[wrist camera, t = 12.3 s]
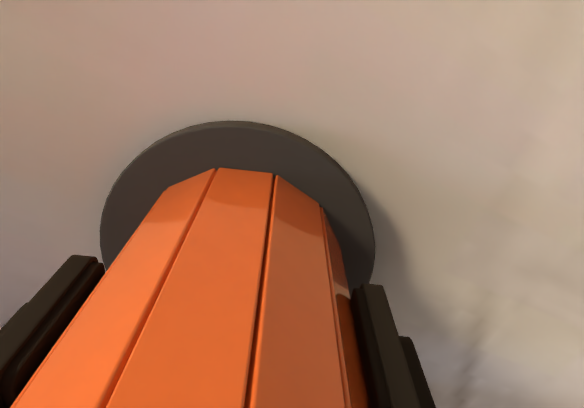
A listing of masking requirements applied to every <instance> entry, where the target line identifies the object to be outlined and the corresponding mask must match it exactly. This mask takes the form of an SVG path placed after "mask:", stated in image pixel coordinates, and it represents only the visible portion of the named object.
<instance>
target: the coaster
mask: <svg viewBox="0 0 584 408" xmlns="http://www.w3.org/2000/svg"><path fill="white" fill-rule="evenodd" d="M213 168H215V169H216V171H217V170H218V168H229V169H239V170H248V171H257V172H266V173H273V179H274V177H275V176H276V175H278V176H280V177H281V178H283V179H284V180H286V181H287V182H289V183H290V184H291V185H293V186H294V187H296V188H297V189H299V190H300V191H302V192H303V193H305V194H306V195H308V196H309V197H310V198H312V199H313V200H315V201H316V202H318V203H319V204H320V207H322V208H323V209H324V211H325V214H326V216H327V218H328V220H329V223H330V225H331V227H332V229H333V232H334V234H335V236H336V238H337V240H338V243H339V245H340V247H341V253H342V258H343V263H344V268H345V274H346V279H347V284H348V289H349V295H350V299H351V295H352V291H353V288H360V285H361V284H362V283H364V284H369V281H370V278H371V275H372V271H373V265H374V259H375V240H374V233H373V227H372V223H371V220H370V217H369V214H368V211H367V208H366V205H365V203H364V201H363V199H362V196H361V194H360V192H359V190H358V189H357V187H356V186H355V184H354V183H353V181H352V180H351V178H350V177H349V175H348V174H347V173H346V172H345V171H344V170H343V169H342V168H341V166H340V165H339V164H338V163H337V162H336V161H335V160H334V159H332V158H331V157H330V156H329V155H328V154H326V153H325V152H324V151H323V150H321V149H320V148H318V147H317V146H315V145H314V144H312V143H310V142H309V141H307V140H306V139H303V138H301V137H299V136H297V135H295V134H293V133H290V132H288V131H285V130H282V129H279V128H276V127H273V126H269V125H264V124H258V123H253V122H243V121H221V122H209V123H204V124H200V125H195V126H190V127H187V128H185V129H182V130H179V131H177V132H174V133H171V134H170V135H168V136H166V137H164V138H162V139H160V140H158V141H157V142H155V143H154V144H152V145H151V146H150V147H148V148H147V149H146V150H144V151H143V152H142V153H141V154H139V155H138V156H137V157H136V158H135V159H134V160H133V161H132V162H131V163H130V164H129V165H128V166H127V167H126V169H125V170H124V171H123V172H122V173H121V175H120V176H119V178H118V179H117V180H116V182H115V183H114V185H113V187H112V189H111V191H110V193H109V195H108V197H107V199H106V203H105V206H104V209H103V212H102V218H101V225H100V247H101V253H102V258H103V262H104V265H105V268H106V271H107V270H108V268H109V267H110V266H111V264H112V263H113V261H114V260H115V259H116V257H117V256H118V254H119V253H120V252H121V250H122V249H123V247H124V246H125V244H126V243H127V242H128V240H129V239H130V237H131V236H132V235H133V233H134V232H135V230H136V229H137V228H138V226H139V225H140V223H141V222H142V221H143V219H144V218H145V216H146V215H147V213H148V212H149V211H150V209H151V208H152V206H153V205H154V204H155V202H156V201H157V199H158V198H159V197H160V195H161V194H162V192H163V191H166V189H167V188H168V187H170V186H172V185H175V184H177V183H180V182H182V181H184V180H187V179H189V178H191V177H194V176H196V175H199V174H201V173H203V172H206V171H208V170H210V169H213Z"/></svg>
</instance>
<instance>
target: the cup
mask: <svg viewBox="0 0 584 408" xmlns="http://www.w3.org/2000/svg"><path fill="white" fill-rule="evenodd" d="M10 408H371V405H370V400H369V394H368V389H367V384H366V379H365V373H364V368H363V363H362V357H361V352H360V347H359V342H358V336H357V331H356V326H355V321H354V316H353V310H352V305H351V300H350V295H349V289H348V284H347V279H346V274H345V268H344V263H343V258H342V253H341V247H340V245H339V243H338V240H337V238H336V236H335V234H334V232H333V229H332V227H331V225H330V223H329V220H328V218H327V216H326V214H325V211H324V209H323V208H322V207H320V204H319V203H318V202H316V201H315V200H313V199H312V198H310V197H309V196H308V195H306V194H305V193H303V192H302V191H300V190H299V189H297V188H296V187H294V186H293V185H291V184H290V183H289V182H287V181H286V180H284V179H283V178H281V177H280V176H278V175H276V176H275V177H274V179H273V173H266V172H257V171H248V170H239V169H229V168H218V170H217V171H216V169H215V168H213V169H210V170H208V171H206V172H203V173H201V174H199V175H196V176H194V177H191V178H189V179H187V180H184V181H182V182H180V183H177V184H175V185H172V186H170V187H168V188H167V189H166V191H163V192H162V194H161V195H160V197H159V198H158V199H157V201H156V202H155V204H154V205H153V206H152V208H151V209H150V211H149V212H148V213H147V215H146V216H145V218H144V219H143V221H142V222H141V223H140V225H139V226H138V228H137V229H136V230H135V232H134V233H133V235H132V236H131V237H130V239H129V240H128V242H127V243H126V244H125V246H124V247H123V249H122V250H121V252H120V253H119V254H118V256H117V257H116V259H115V260H114V261H113V263H112V264H111V266H110V267H109V268H108V270H107V271H106V273H105V274H104V275H103V277H102V278H101V280H100V281H99V283H98V284H97V285H96V287H95V288H94V290H93V291H92V292H91V294H90V295H89V297H88V298H87V299H86V301H85V302H84V304H83V305H82V306H81V308H80V309H79V311H78V312H77V314H76V315H75V316H74V318H73V319H72V321H71V322H70V323H69V325H68V326H67V328H66V329H65V330H64V332H63V333H62V335H61V336H60V337H59V339H58V340H57V342H56V343H55V345H54V346H53V347H52V349H51V350H50V352H49V353H48V354H47V356H46V357H45V359H44V360H43V361H42V363H41V364H40V366H39V367H38V368H37V370H36V371H35V373H34V374H33V376H32V377H31V378H30V380H29V381H28V383H27V384H26V385H25V387H24V388H23V390H22V391H21V392H20V394H19V395H18V397H17V398H16V399H15V401H14V402H13V404H12V405H11V407H10Z"/></svg>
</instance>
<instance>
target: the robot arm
mask: <svg viewBox="0 0 584 408" xmlns="http://www.w3.org/2000/svg"><path fill="white" fill-rule="evenodd" d="M104 274H105V268H104V265H103V264H102V263H98V260H97V258H96V257H91V256H81V255H72V256H71V257H69V258H68V259H67V261H66V262H65V263H64V264H63V265H62V266H61V267H60V268H59V269H58V271H57V272H56V273H55V274H54V275H53V276H52V277H51V278H50V279H49V281H48V282H47V283H46V284H45V285H44V286H43V287H42V288H41V289H40V291H39V292H38V293H37V294H36V295H35V296H34V297H33V298H32V299H31V300H30V302H28V303H26V304H25V305H23V306H22V307H21V308H20V309H19V310H18V311H17V312H16V314H15V315H14V316H13V317H12V318H11V319H10V320H9V321H8V322H7V323H6V325H5V326H4V327H3V328H2V329H1V330H0V408H10V407H11V405H12V404H13V402H14V401H15V399H16V398H17V397H18V395H19V394H20V392H21V391H22V390H23V388H24V387H25V385H26V384H27V383H28V381H29V380H30V378H31V377H32V376H33V374H34V373H35V371H36V370H37V368H38V367H39V366H40V364H41V363H42V361H43V360H44V359H45V357H46V356H47V354H48V353H49V352H50V350H51V349H52V347H53V346H54V345H55V343H56V342H57V340H58V339H59V337H60V336H61V335H62V333H63V332H64V330H65V329H66V328H67V326H68V325H69V323H70V322H71V321H72V319H73V318H74V316H75V315H76V314H77V312H78V311H79V309H80V308H81V306H82V305H83V304H84V302H85V301H86V299H87V298H88V297H89V295H90V294H91V292H92V291H93V290H94V288H95V287H96V285H97V284H98V283H99V281H100V280H101V278H102V277H103V275H104ZM350 300H351V305H352V310H353V316H354V321H355V326H356V331H357V336H358V342H359V347H360V352H361V357H362V363H363V368H364V373H365V379H366V384H367V389H368V394H369V400H370V405H371V408H436V407H435V404H434V401H433V398H432V395H431V393H430V390H429V387H428V384H427V381H426V378H425V375H424V373H423V370H422V367H421V364H420V361H419V358H418V355H417V353H416V350H415V347H414V344H413V342H412V340H411V339H410V338H409V337H403V336H398V332H397V329H396V326H395V323H394V320H393V316H392V313H391V310H390V307H389V304H388V300H387V297H386V294H385V291H384V288H383V286H382V285H374V284H364V283H362V284H361V285H360V288H353V291H352V295H351V299H350Z"/></svg>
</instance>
